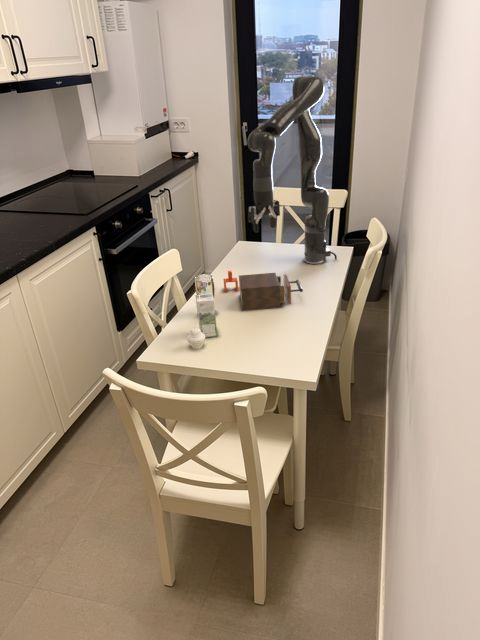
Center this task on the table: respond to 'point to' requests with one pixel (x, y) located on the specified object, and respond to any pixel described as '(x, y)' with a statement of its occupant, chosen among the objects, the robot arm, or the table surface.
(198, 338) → the muffin
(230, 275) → the orange angular part
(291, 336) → the table surface
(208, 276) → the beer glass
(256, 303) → the cabinet
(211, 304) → the syrup box
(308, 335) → the table surface
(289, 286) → the drawer
